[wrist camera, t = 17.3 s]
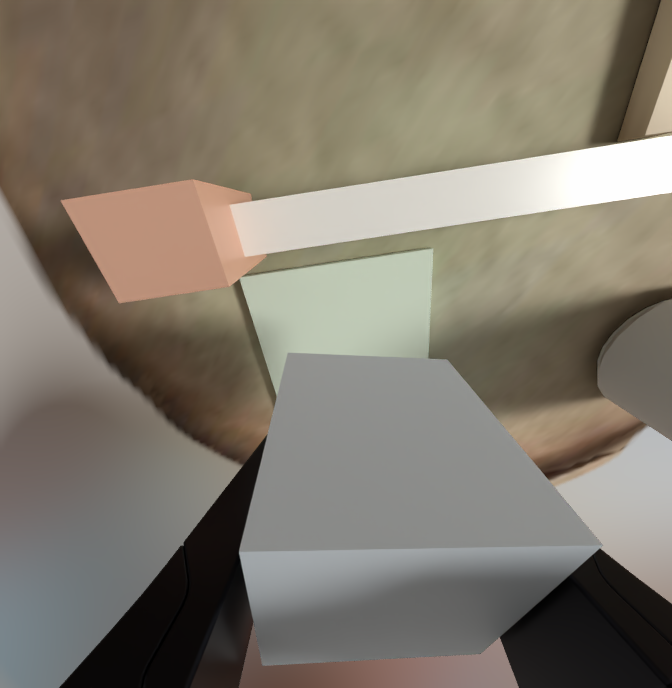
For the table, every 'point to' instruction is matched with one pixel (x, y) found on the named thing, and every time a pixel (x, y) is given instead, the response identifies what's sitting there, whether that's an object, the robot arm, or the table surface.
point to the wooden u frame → (653, 84)
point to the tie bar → (336, 213)
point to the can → (641, 367)
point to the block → (396, 517)
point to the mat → (343, 308)
